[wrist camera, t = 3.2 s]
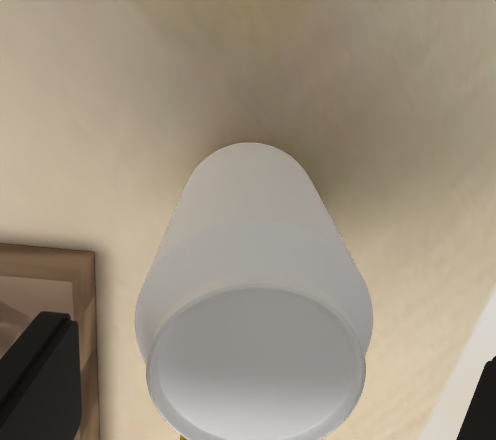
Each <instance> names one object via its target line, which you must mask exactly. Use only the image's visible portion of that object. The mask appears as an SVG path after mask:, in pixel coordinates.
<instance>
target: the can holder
mask: <svg viewBox="0 0 496 440" xmlns="http://www.w3.org/2000/svg"><path fill="white" fill-rule="evenodd" d="M41 311H50V312H60V313H68V314H70V317H71V320H73V321H77V322H78V327H79V351H80V375H81V399H82V418H81V423H80V426H79V429H78V431H77V434H76V436H75V438H74V440H100V435H99V401H98V366H97V331H96V296H95V262H94V252H89V251H78V250H67V249H56V248H45V247H34V246H23V245H12V244H1V243H0V359H1V358H2V357H3V356H4V354H5V353H6V352H7V351H8V350H9V348H10V347H11V346H12V345H13V344H14V342H15V341H16V340H17V339H18V338H19V336H20V335H21V334H22V333H23V332H24V330H25V329H26V328H27V327H28V326H29V324H30V323H31V322H32V321H33V320H34V318H35V317H36V316H37V315H38V314H39V313H40V312H41Z"/></svg>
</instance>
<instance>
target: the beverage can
mask: <svg viewBox="0 0 496 440" xmlns="http://www.w3.org/2000/svg"><path fill="white" fill-rule="evenodd" d="M372 327H373V310H372V303H371V299H370V295H369V292H368V289H367V286H366V284H365V282H364V280H363V278H362V276H361V274H360V272H359V270H358V268H357V266H356V264H355V262H354V260H353V258H352V257H351V255H350V253H349V251H348V249H347V247H346V245H345V243H344V241H343V240H342V238H341V236H340V234H339V232H338V230H337V228H336V226H335V224H334V223H333V221H332V219H331V217H330V215H329V213H328V211H327V209H326V207H325V206H324V204H323V202H322V200H321V198H320V196H319V194H318V192H317V191H316V189H315V187H314V185H313V183H312V181H311V180H310V178H309V176H308V175H307V173H306V172H305V170H304V169H303V168H302V166H301V165H300V164H299V163H298V162H297V161H296V160H295V159H294V158H292V157H291V156H290V155H288V154H287V153H285V152H284V151H282V150H280V149H278V148H276V147H273V146H270V145H266V144H262V143H254V142H245V143H237V144H232V145H229V146H226V147H223V148H221V149H219V150H217V151H215V152H214V153H212V154H211V155H209V156H208V157H206V158H205V159H204V160H203V161H202V162H201V163H200V164H199V165H198V166H197V167H196V169H195V170H194V171H193V173H192V174H191V176H190V178H189V180H188V182H187V184H186V186H185V188H184V190H183V192H182V195H181V197H180V199H179V202H178V204H177V206H176V209H175V211H174V213H173V215H172V218H171V220H170V222H169V225H168V227H167V229H166V232H165V234H164V236H163V239H162V241H161V243H160V246H159V248H158V250H157V253H156V255H155V257H154V260H153V262H152V264H151V267H150V269H149V271H148V274H147V276H146V279H145V281H144V283H143V286H142V288H141V291H140V294H139V297H138V301H137V305H136V311H135V331H136V338H137V342H138V346H139V349H140V352H141V354H142V357H143V359H144V361H145V363H146V379H147V385H148V390H149V393H150V396H151V399H152V401H153V403H154V405H155V407H156V409H157V410H158V412H159V413H160V415H161V416H162V417H163V419H164V420H165V421H166V422H167V423H168V424H169V425H170V426H171V427H172V428H173V429H174V430H175V431H176V432H178V433H179V434H180V435H182V436H183V437H185V438H186V439H188V440H321V439H323V438H324V437H326V436H327V435H329V434H330V433H332V432H333V431H334V430H335V429H336V428H338V427H339V426H340V425H341V424H342V423H343V422H344V421H345V420H346V418H347V417H348V416H349V415H350V413H351V412H352V411H353V409H354V407H355V406H356V404H357V402H358V400H359V398H360V396H361V393H362V390H363V386H364V382H365V374H366V363H365V355H366V352H367V349H368V346H369V343H370V339H371V335H372Z"/></svg>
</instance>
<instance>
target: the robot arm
mask: <svg viewBox="0 0 496 440" xmlns="http://www.w3.org/2000/svg"><path fill="white" fill-rule="evenodd" d="M81 418H82V399H81V375H80V351H79V327H78V322H77V321H73V320H71V317H70V314H68V313H60V312H50V311H41V312H40V313H39V314H38V315H37V316H36V317H35V318H34V320H33V321H32V322H31V323H30V324H29V326H28V327H27V328H26V329H25V330H24V332H23V333H22V334H21V335H20V336H19V338H18V339H17V340H16V341H15V342H14V344H13V345H12V346H11V347H10V348H9V350H8V351H7V352H6V353H5V354H4V356H3V357H2V358H1V359H0V440H74V438H75V436H76V434H77V431H78V429H79V426H80V423H81ZM457 440H496V356H495V357H494V358H493V359H492V361H488V362H487V363H486V365H485V366H484V369H483V372H482V374H481V377H480V380H479V382H478V385H477V387H476V390H475V393H474V395H473V398H472V400H471V403H470V406H469V408H468V411H467V414H466V416H465V419H464V422H463V424H462V427H461V429H460V432H459V434H458V437H457Z"/></svg>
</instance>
